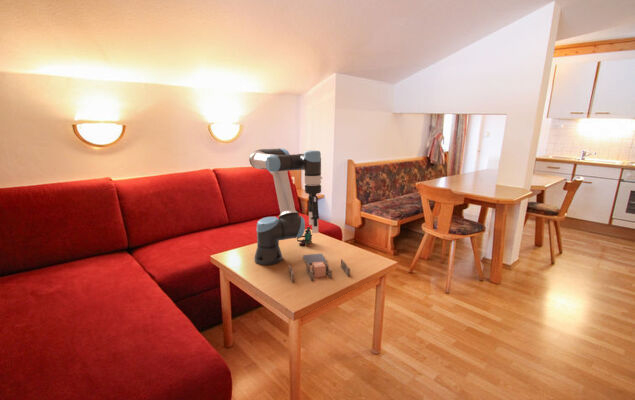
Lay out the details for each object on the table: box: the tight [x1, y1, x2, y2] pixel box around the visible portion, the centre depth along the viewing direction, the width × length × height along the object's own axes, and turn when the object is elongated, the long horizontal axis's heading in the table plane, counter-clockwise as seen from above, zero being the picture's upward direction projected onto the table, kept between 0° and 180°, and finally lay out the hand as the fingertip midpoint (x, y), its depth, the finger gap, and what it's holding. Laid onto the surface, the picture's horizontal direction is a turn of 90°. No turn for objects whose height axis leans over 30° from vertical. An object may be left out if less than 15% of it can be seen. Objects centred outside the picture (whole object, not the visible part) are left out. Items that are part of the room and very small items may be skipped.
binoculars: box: [296, 226, 313, 247], centre depth 198 cm, size 9×11×10 cm
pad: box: [302, 253, 328, 266], centre depth 177 cm, size 11×11×1 cm
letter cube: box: [311, 262, 327, 278], centre depth 160 cm, size 6×6×6 cm
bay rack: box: [288, 259, 351, 284], centre depth 160 cm, size 12×29×4 cm, turn 104°
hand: (313, 228), depth 152 cm, fingers open, 13 cm apart
